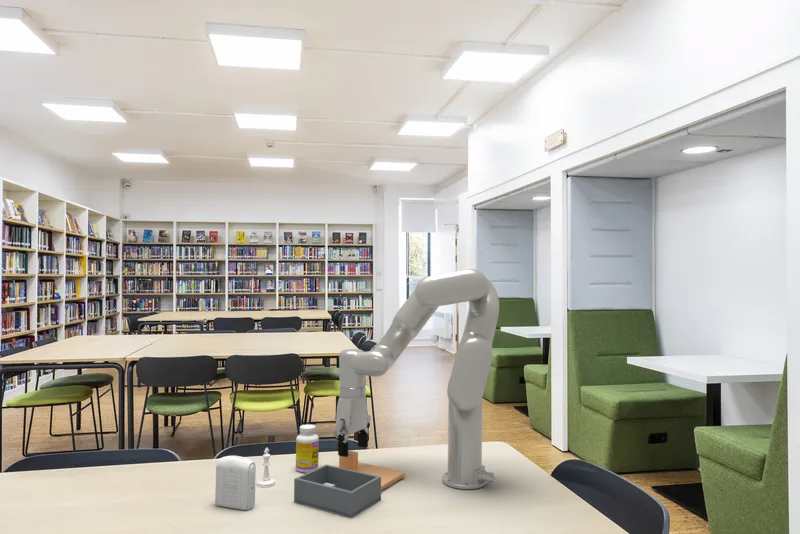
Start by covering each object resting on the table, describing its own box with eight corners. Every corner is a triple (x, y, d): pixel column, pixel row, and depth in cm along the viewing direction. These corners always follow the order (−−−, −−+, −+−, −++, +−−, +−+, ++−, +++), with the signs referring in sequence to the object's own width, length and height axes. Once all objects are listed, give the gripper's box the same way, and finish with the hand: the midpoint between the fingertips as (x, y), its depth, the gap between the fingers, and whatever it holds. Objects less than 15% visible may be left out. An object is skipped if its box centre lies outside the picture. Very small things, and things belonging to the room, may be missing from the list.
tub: (380, 500, 147) (381, 476, 147) (351, 518, 136) (351, 493, 136) (325, 486, 156) (326, 464, 156) (294, 502, 145) (294, 478, 145)
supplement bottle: (313, 474, 165) (314, 430, 165) (292, 472, 166) (292, 428, 167) (321, 466, 172) (321, 424, 172) (300, 465, 173) (301, 422, 173)
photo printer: (257, 505, 143) (258, 456, 143) (248, 512, 139) (248, 461, 139) (222, 500, 146) (223, 451, 146) (212, 506, 142) (213, 456, 142)
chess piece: (278, 482, 158) (279, 446, 159) (267, 488, 154) (268, 451, 154) (264, 479, 161) (265, 444, 161) (253, 485, 156) (253, 449, 156)
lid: (405, 479, 163) (405, 454, 163) (379, 494, 151) (379, 468, 151) (352, 467, 173) (353, 444, 173) (324, 481, 161) (325, 456, 161)
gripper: (359, 385, 174) (359, 441, 174) (323, 396, 159) (324, 457, 159) (379, 388, 170) (380, 445, 170) (345, 399, 155) (346, 462, 155)
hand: (353, 451), depth 165 cm, fingers open, 9 cm apart
